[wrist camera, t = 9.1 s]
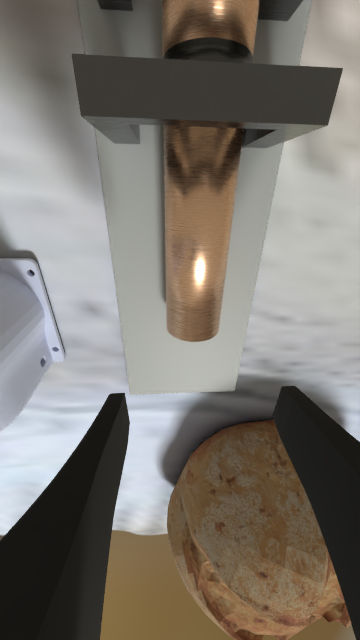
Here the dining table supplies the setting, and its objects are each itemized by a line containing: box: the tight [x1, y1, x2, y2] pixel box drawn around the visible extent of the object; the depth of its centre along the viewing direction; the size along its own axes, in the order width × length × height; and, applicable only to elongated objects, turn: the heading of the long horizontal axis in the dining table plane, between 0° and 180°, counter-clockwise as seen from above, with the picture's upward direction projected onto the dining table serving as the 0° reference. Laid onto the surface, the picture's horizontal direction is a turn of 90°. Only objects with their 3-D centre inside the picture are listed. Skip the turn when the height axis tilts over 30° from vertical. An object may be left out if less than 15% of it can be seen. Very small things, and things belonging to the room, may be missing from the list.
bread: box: [167, 419, 351, 640], centre depth 27 cm, size 26×23×15 cm
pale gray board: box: [78, 0, 312, 394], centre depth 17 cm, size 29×11×1 cm, turn 179°
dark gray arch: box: [72, 54, 343, 148], centre depth 10 cm, size 2×9×6 cm, turn 89°
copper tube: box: [162, 0, 260, 342], centre depth 13 cm, size 18×4×4 cm, turn 179°
